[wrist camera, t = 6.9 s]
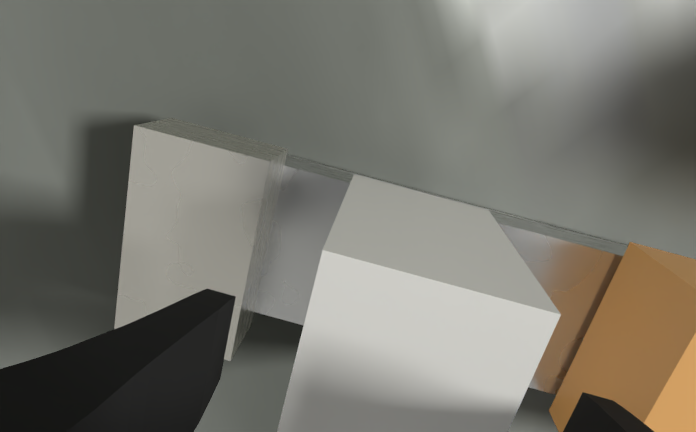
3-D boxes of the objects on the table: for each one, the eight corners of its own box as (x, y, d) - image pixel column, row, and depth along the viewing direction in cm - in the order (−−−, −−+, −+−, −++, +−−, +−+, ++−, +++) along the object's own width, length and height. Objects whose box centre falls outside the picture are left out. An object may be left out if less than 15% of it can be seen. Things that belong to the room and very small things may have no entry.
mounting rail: (949, 490, 16) (1096, 601, 13) (157, 273, 16) (97, 324, 13) (1076, 349, 14) (1288, 434, 11) (178, 109, 15) (114, 120, 11)
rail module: (426, 378, 15) (446, 566, 9) (309, 346, 15) (256, 512, 9) (488, 209, 13) (560, 314, 7) (353, 174, 13) (322, 249, 7)
